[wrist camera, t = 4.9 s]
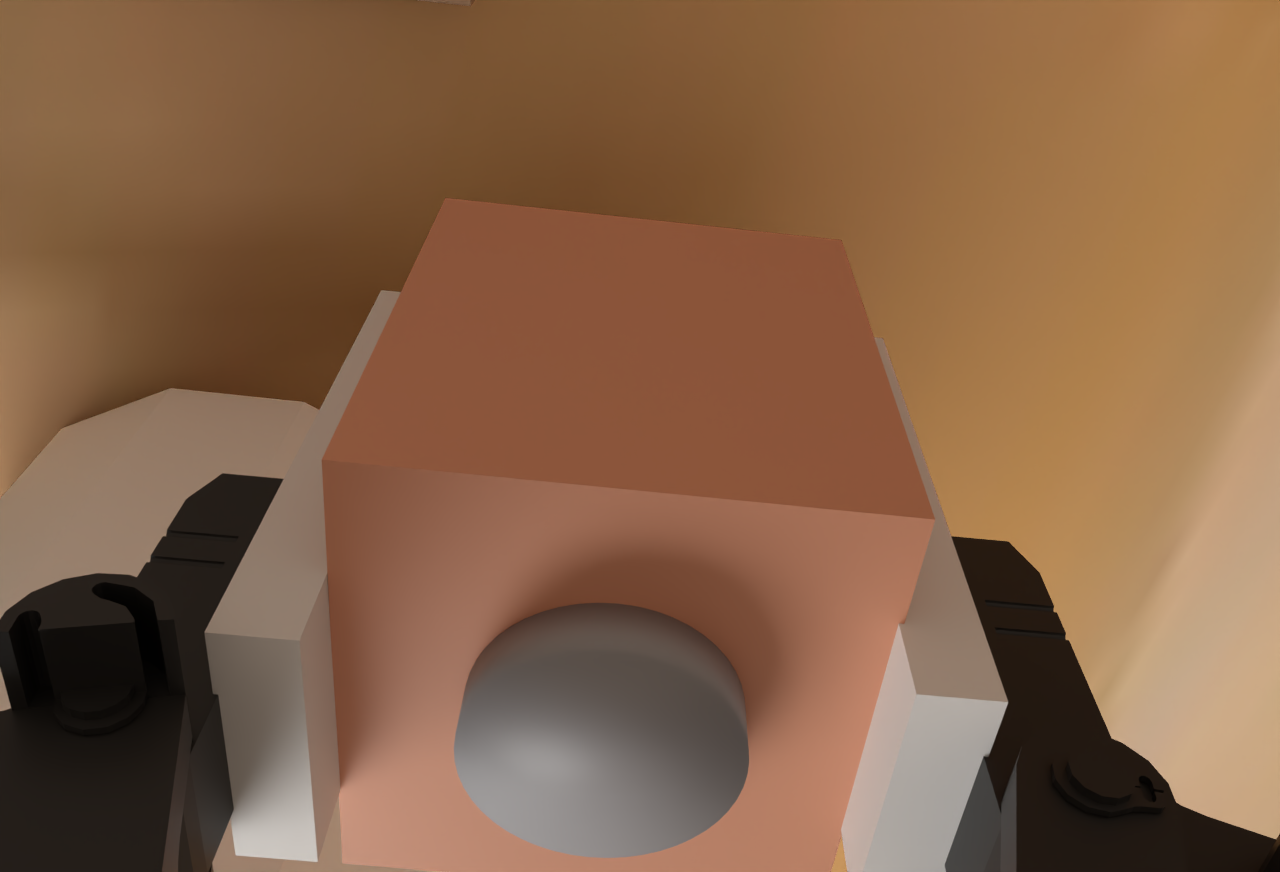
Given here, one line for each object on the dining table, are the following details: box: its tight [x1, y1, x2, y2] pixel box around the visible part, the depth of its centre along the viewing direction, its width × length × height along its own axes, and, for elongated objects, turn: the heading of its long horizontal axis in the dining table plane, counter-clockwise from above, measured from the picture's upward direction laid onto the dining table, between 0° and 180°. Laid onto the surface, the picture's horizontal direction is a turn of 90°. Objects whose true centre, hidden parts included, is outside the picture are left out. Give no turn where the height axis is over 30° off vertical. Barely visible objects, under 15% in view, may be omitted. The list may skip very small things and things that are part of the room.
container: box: [0, 388, 438, 872], centre depth 26 cm, size 14×14×18 cm
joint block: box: [322, 198, 935, 872], centre depth 13 cm, size 5×5×7 cm
